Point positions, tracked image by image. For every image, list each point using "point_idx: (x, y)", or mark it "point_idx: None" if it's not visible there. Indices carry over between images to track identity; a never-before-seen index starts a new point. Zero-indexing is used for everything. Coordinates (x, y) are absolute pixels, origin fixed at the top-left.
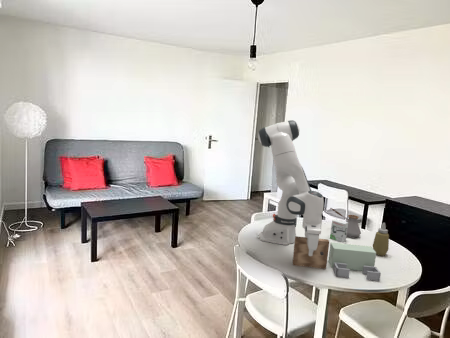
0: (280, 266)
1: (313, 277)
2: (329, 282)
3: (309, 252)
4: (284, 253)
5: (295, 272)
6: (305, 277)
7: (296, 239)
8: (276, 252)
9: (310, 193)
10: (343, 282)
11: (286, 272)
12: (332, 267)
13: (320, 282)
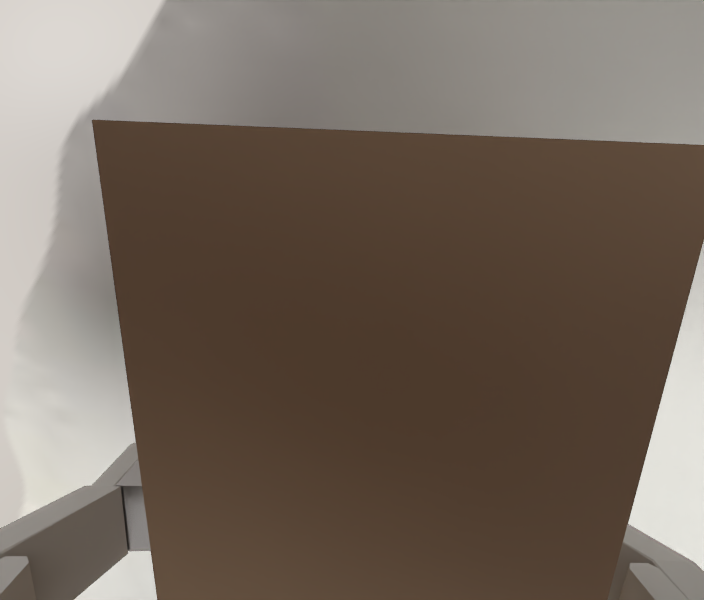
0: (242, 44)
1: (96, 378)
2: (54, 491)
3: (87, 496)
4: (619, 141)
5: None
6: (65, 304)
7: (155, 212)
8: (646, 30)
9: None
10: (100, 585)
11: (104, 107)
12: None
13: (20, 423)
